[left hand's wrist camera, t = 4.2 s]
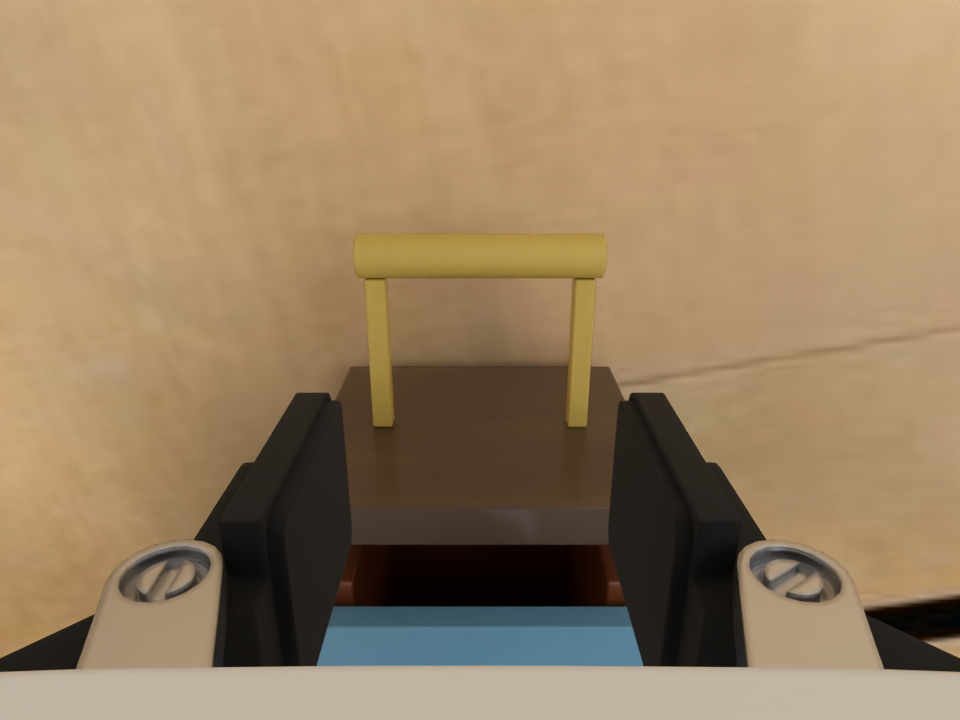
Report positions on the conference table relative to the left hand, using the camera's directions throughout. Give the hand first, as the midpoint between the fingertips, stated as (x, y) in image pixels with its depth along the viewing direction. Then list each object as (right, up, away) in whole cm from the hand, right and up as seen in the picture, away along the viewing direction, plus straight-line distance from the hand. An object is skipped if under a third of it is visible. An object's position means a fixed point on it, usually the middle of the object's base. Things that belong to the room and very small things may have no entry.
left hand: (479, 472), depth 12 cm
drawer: (0, -3, +16) cm, 16 cm away
